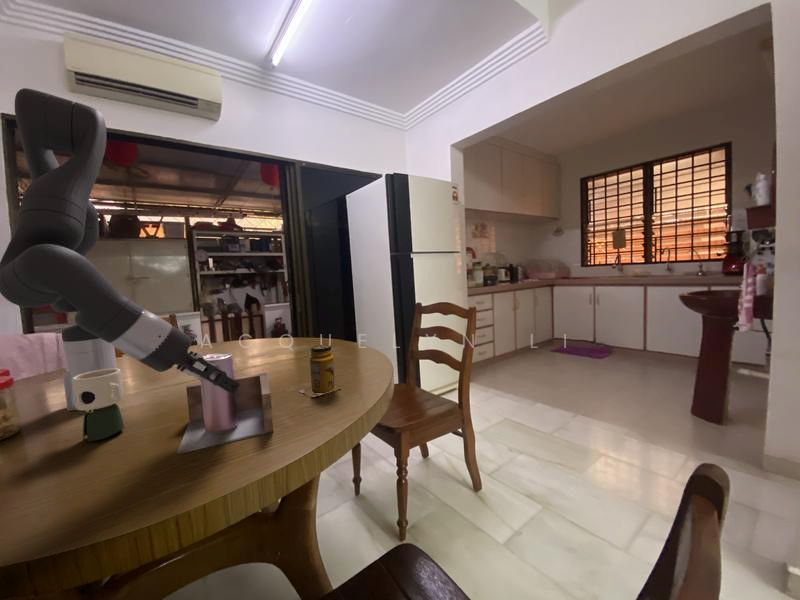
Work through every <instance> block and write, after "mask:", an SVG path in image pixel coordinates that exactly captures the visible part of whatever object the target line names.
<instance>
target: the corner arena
mask: <svg viewBox="0 0 800 600" xmlns="http://www.w3.org/2000/svg"><path fill="white" fill-rule="evenodd" d="M235 381H236V382H238V383H239V384H240V385H239V387H238V389H237V390H236V400H237V412H238V424H237V426H236V427H235V428H234V429H232V430H231V431H229V432H226V433H222V434H216V435H212V434H209V433H207V432H206V431H205V424H204V414H203V403H202V392H201V382H200V383H194V384H193V383H192V384H188V385H186V387H185V388H186V399H187V407H188V408H187V409H188V410H187V411H188V417H189V418H188V420H189V422H188V423H187V427H186V429H185V432H184V434H183V437H182V440H181V442H180V445H179V447H178V449H177V455H181V454H184V453H188V452H193V451H197V450H203V449H206V448H210V447H215V446H218V445H223V444H227V443H231V442H237V441H241V440H246V439H248V438H249V439H250V438H254V437H258V436H261V435H266V434H271V433H274V424H273V423H274V422H273V410H272V399H271V398H272V397H271V396H272V395H271V389H270V386H269V385H270V384H269V380H268V375H267V372H263V373H257V374H251V375H250V374H249V375H244V376H238V377H235Z"/></svg>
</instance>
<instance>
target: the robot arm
mask: <svg viewBox="0 0 800 600" xmlns="http://www.w3.org/2000/svg"><path fill="white" fill-rule="evenodd" d="M14 97H15V98H14V115H15V121H16V122H15V123H16V126H17V130H18V134H19V138H20V141H21V145H22V149H23V152H24V156H25V157H24V158H25V160H26V163H27V167H28V172H29V176H30V181H31V183H30V184H29V185H28V186H27V187H26V189H25V191H24V193H23V194H22V198H21V202H20V204H19V209H18V210H19V211H18V215H17V220H16V228H15V231H14V233H13V235H12V237H11V239H10V241H9V243H8V244H7V247H6V249H5V251H4V253H3V255H2V258H1V260H0V294H1V296H2V297H3V298H5V300H7V301H8V302H10V303H12V304H13V305H16V306H19V307H23V308H28V309H29V308H30V309H31V308H32V309H37V308H45V307H47V306H50V308H51V309H52V310H53V311H54V312H57V313H65V314H66V313H67V314H68V313H76V314H75V316H74V322H75V324H74V325H71V326H69V327H65V328H64V329H62V331H61V340H62V345H63V355H64V360H65V369H66V371H64V372H63V373H62V379H63V387H64V393H65V395H64V396H65V404H66V410H67V411H68V412H69V411H79V410H78V409H77V408H76V407H75V402H76V396H75V393H74V390H73V383H72V378H73V377H75V376H77V375H80V374H83V373H87V372H92V371H97V370H103V369H118V365H117V359H116V357H117V356H116V350H115V348H116V349H117V350H118V351H120V352H121V353H123V354H125V355H126V356H128V357H130V358H132V359H134V360H136V361H138V362H139V363H142V364H143V365H145V366H147V367H149V368H151V369H152V370H155V371H157V372H159V373H163V372H167V371H168V370H170V369H171V368H173V366H175V365H177V366H176V367H175V370H177V371H180V372H181V373H184V374H185V375H187V376H192V377H194V378H196V379H198V381H200V380H201V381H206V380H207V381H209V382H211V383H213V385H215V386H219V387H221V388H223V389H224V390H226V391H228V392H230V393H232V394H233V393H235V391H236V390H237V389H238V387H239V385H240V384H239V383H238V382H236V381H234V380H233V379H231V378H230V377H228V376H226V375H227V374H226V372H224V371H221V370H220V369H218V368H216V366H215V365H214V364H213V363H211V362H209V361H207V360H206V359H204V356H203V355H202V354H200V353H198V352H195V351H192V350H190V351H189V348H190V347H191V344H192V342H193V341H192V338H191V336H190V335H188V334H186V333H185V332H183V331H182V330H180V329H179V328H178V327H175V326H174V325H172V324H171V323H170V322H168V321H167V320H165V319H163V318H161V316H158V315H157V314H154V313H153V312H151V311H148V309H147V310H146V309H145V308H143V307H142V306H141V305H139V304H137V303H135V302H134V301H133V300H131V299H129V298H128V297H127V296H124V295H123V294H121V293H120V292H119V291H118V290H117V289H116V287H115V286H114V285H113V284H112V283H111V282H110V281H109V280H108V279H107V278H106V277H105V275H103V274H102V272H101V271H100V270H99V269H98V268H97V267H96V266H95V265H94V264H93V263H92V262H90V261H89V260H88V259H87V258H86V257H85V256H86V255H87V254H88V253H89V252H91V250H93V248H95V246H96V244H97V243H98V241H99V237H100V226H99V224H100V223H99V213H98V211H97V209H96V207H95V205H94V204H93V202H91V200H90V197H91V194H92V191H93V189H94V185H95V183H96V181H97V179H98V176H99V172H100V168H101V165H102V162H103V160H104V156H105V153H106V149H107V148H106V147H107V126H106V120H105V118H104V116H103V114H102V113H101V112H100V111H99V110H98V109H96V108H94V107H92V106H89V105H86V104H83V103H80V102H78V101H73V100H71V99H66V98H64V97H60V96H57V95H53V94H50V93H47V92H45V91H39V90H36V89H33V88H21V89H19V90H18V91H17V92H16V94H15V96H14ZM54 152H56V153H62V154H66V155H69V156H72V158H69V160H67V161H66V162H64V163H63V164H61V165H59V162H58V161H57V158H56V156H55V154H54ZM188 351H189V352H188ZM214 371H215V372H217V373H218V375H217V376H216V377H215V378H214V380H213V379H211V378H210V376H211V374H212V373H213V372H214Z"/></svg>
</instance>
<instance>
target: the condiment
mask: <svg viewBox="0 0 800 600" xmlns="http://www.w3.org/2000/svg"><path fill="white" fill-rule="evenodd" d="M309 364H310V381H311V383H310V384H311V386H310V387H309V388H306V389H302V390H299V392H300V393H301V394H303V393H304V392H306V391H307V390H308V389H311V388H312V391H313V392H314V393H326V392H329V391H331V390H333V389H334V386H335V385H336V384H335V383H336V382H335V370H334V369H335V368H334V366H335V365H334V356H333V354H332V347H331V345H329V344H317V345H313V346H311V348H310V359H309ZM335 387H336V386H335Z"/></svg>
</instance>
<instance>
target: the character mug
mask: <svg viewBox="0 0 800 600" xmlns="http://www.w3.org/2000/svg"><path fill="white" fill-rule="evenodd" d="M122 380H123V379H122V373H121V369H120V368H117V369H103V370H97V371H92V372H87V373H83V374H80V375H77V376H75V377H73V378H72V383H73V390H74V393H75V396H76V402H75V407H76V408H77V409H78V410H77V411H85V412H84V413H83V420H82V421H83V424H82V440H83V441H85V437H86V436H87V437H86V439H87V441H88V442H94V441H95V442H96V441H99V440H103V439H107V438H110V437H111V436H113V435H114V434H117V433H118V432H120V431H122V430H124V429H125V424H124V420H123V416H122V413H121V410H120V407H119V406H118V405H117V403H118V402H121V401H122V400H123V398H124V388H123V382H122Z"/></svg>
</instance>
